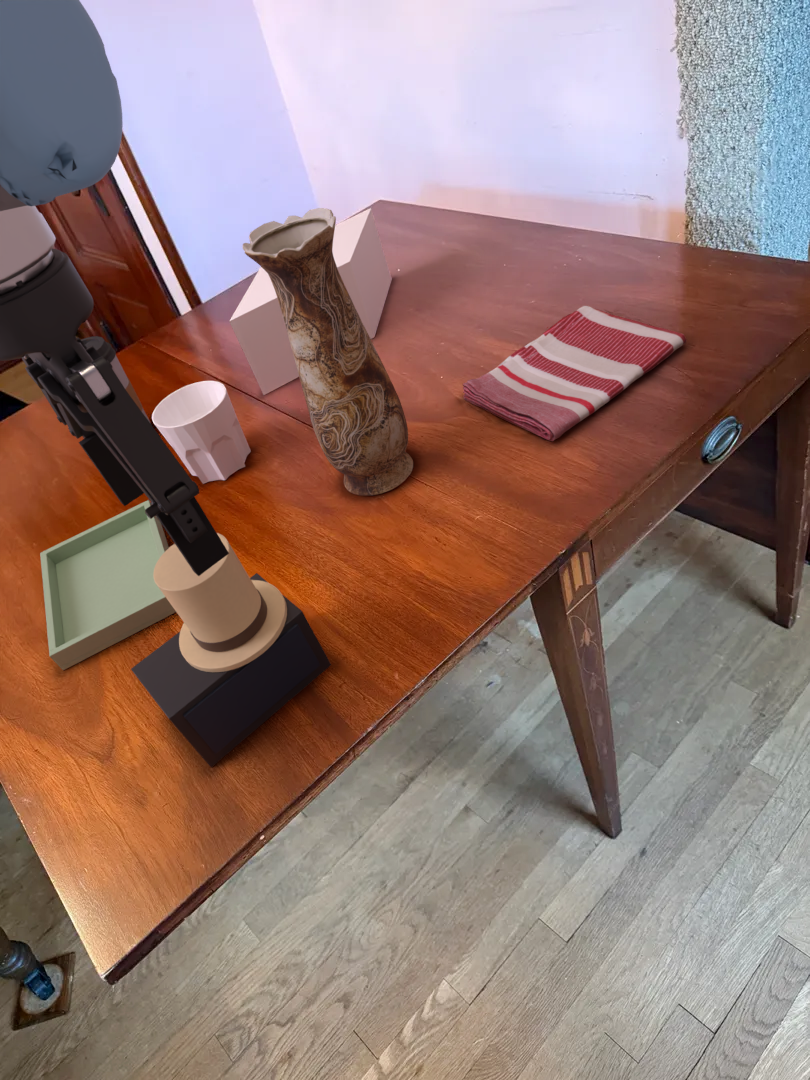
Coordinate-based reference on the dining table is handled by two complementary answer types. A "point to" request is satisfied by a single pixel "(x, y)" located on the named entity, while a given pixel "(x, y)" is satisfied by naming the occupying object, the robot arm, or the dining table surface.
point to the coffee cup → (113, 365)
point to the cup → (203, 430)
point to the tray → (103, 585)
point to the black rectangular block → (232, 686)
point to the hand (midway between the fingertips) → (171, 526)
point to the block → (263, 317)
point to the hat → (220, 610)
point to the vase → (334, 354)
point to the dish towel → (571, 370)
